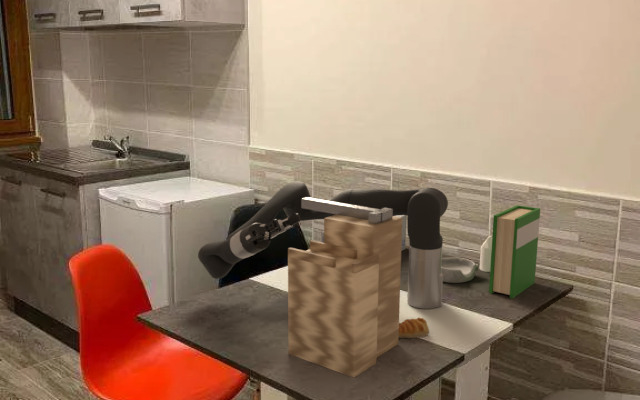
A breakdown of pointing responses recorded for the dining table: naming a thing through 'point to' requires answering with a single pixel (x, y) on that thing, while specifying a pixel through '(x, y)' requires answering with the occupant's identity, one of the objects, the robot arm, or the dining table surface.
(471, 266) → the dish
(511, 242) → the hardback book
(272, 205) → the robot arm
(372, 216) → the t handle
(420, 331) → the pastry
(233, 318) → the dining table surface
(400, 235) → the stand
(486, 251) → the white bottle
